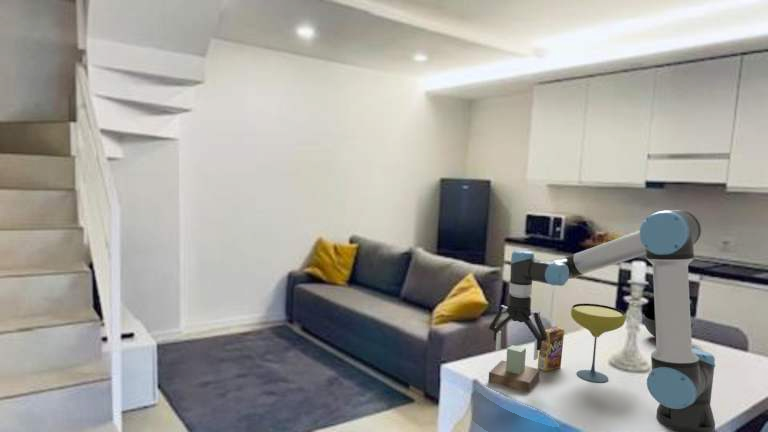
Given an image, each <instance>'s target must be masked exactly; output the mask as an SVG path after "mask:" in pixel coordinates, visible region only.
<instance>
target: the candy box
mask: <svg viewBox="0 0 768 432" xmlns="http://www.w3.org/2000/svg"><path fill="white" fill-rule="evenodd" d="M544 329H545V331H546V334H547V336H548V339H547V340H546V341H542V348H541V350H540V351H539V350H538V358H537V360H538V361H537V369H540V371H541V370H542V371H544V372H548V371H551V370H556V369H560V368H561V366H562V358H563V345H564V337H565V329H564V328H562V327H560V326H551V327H547V328H544Z"/></svg>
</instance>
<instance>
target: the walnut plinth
mask: <svg viewBox="0 0 768 432" xmlns="http://www.w3.org/2000/svg"><path fill="white" fill-rule="evenodd" d="M540 371H541V369H539V368H537V367H532V366H527V365H525V370H524V371H523V372H522V373H521V374H516V373H512V372H509V371H506V360H500V361H499V362H498V363H497V364H496V365H495V366H494V367H493V368H492V369H491V370H490V371H489V373H488V383H490V384H491V383H492V384H495V385H498V386H502V387H506V388H509V389H513V390H518V391H521V392H524V393H528V394H529V393H530V392H531V391H532V389H533V387H534V386H535V385H536V383H537V382H538V381H539V379H540Z"/></svg>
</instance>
